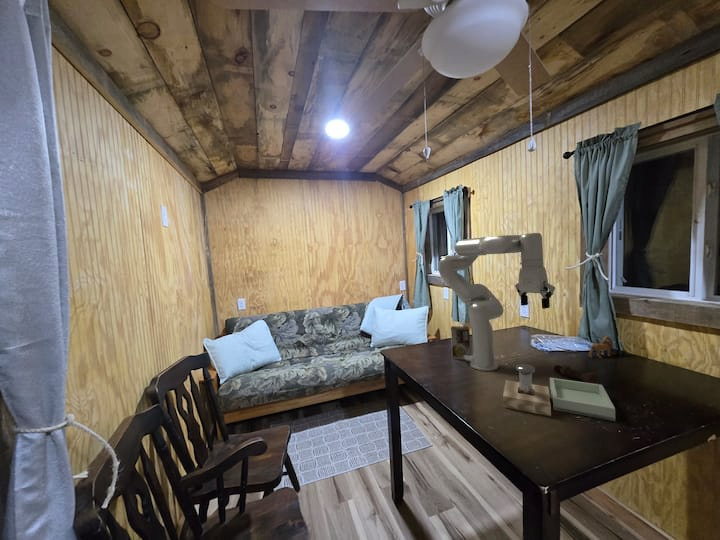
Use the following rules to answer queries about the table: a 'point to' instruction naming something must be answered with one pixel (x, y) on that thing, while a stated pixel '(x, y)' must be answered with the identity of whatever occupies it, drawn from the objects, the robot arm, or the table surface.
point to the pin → (525, 378)
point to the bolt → (576, 374)
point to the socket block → (527, 398)
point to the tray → (581, 399)
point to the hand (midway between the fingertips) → (534, 306)
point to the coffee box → (460, 341)
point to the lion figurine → (602, 347)
